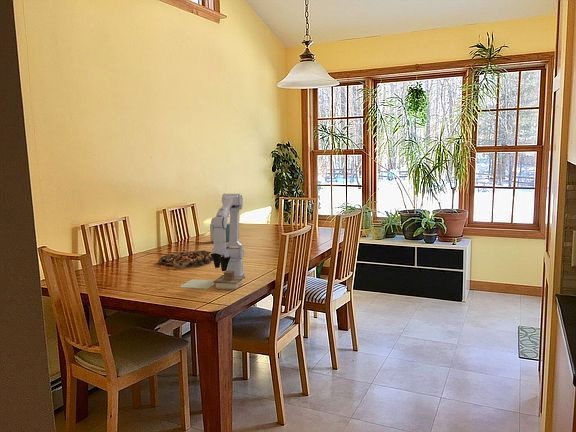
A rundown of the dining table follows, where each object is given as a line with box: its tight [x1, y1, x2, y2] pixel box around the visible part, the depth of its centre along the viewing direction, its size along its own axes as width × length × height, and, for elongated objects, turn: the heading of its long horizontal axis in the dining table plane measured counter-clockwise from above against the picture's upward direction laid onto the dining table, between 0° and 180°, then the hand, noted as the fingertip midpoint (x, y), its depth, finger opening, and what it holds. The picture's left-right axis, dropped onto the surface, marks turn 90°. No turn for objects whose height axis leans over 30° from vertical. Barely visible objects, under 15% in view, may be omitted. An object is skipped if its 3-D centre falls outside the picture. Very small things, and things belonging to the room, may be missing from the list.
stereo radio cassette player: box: [209, 215, 240, 243], centre depth 359 cm, size 21×8×20 cm, turn 113°
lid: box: [213, 271, 246, 284], centre depth 238 cm, size 12×12×4 cm
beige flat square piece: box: [178, 278, 216, 290], centre depth 243 cm, size 14×15×1 cm
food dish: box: [158, 249, 213, 269], centre depth 293 cm, size 35×33×8 cm
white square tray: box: [215, 279, 243, 290], centre depth 239 cm, size 10×10×3 cm
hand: (220, 269), depth 233 cm, fingers open, 7 cm apart
